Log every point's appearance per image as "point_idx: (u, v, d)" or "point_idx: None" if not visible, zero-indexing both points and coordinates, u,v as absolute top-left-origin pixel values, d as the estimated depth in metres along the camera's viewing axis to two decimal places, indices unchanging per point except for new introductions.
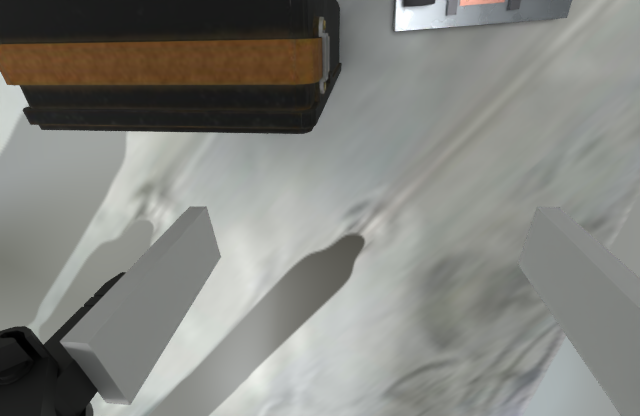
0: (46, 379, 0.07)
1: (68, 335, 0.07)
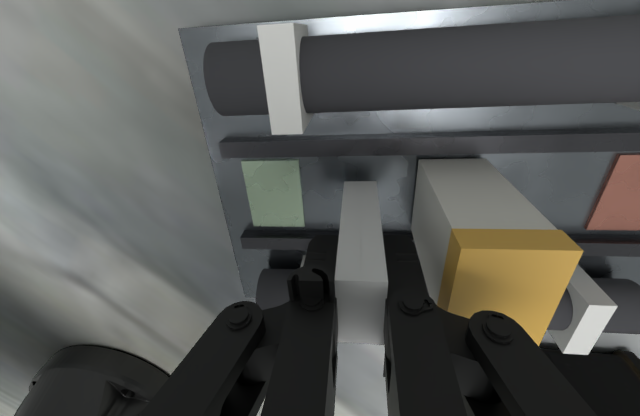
0: (332, 324, 0.07)
1: (337, 276, 0.09)
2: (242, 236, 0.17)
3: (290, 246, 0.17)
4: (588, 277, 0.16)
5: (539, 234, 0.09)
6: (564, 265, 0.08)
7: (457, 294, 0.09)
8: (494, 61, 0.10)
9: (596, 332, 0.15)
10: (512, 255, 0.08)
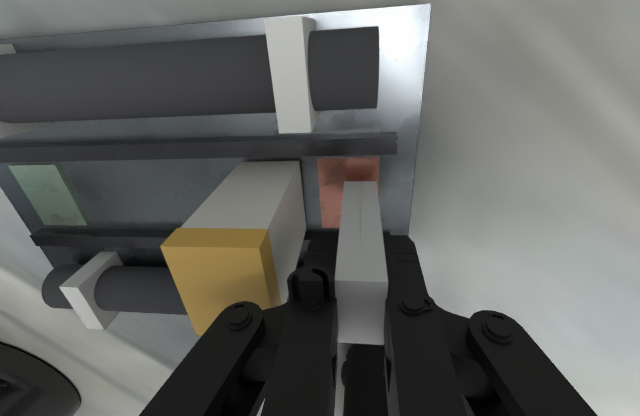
0: (332, 324, 0.07)
1: (337, 276, 0.09)
2: (32, 234, 0.19)
3: (75, 243, 0.19)
4: None
5: (243, 233, 0.09)
6: (251, 261, 0.09)
7: (182, 288, 0.10)
8: (111, 78, 0.11)
9: None
10: (204, 252, 0.09)
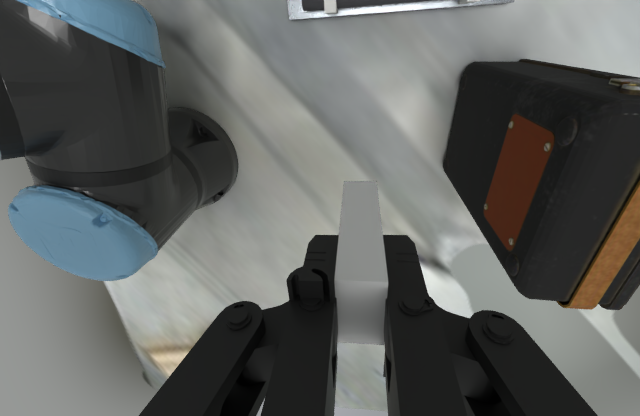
0: (332, 324, 0.07)
1: (337, 276, 0.09)
2: None
3: None
4: None
5: None
6: None
7: None
8: None
9: None
10: None
